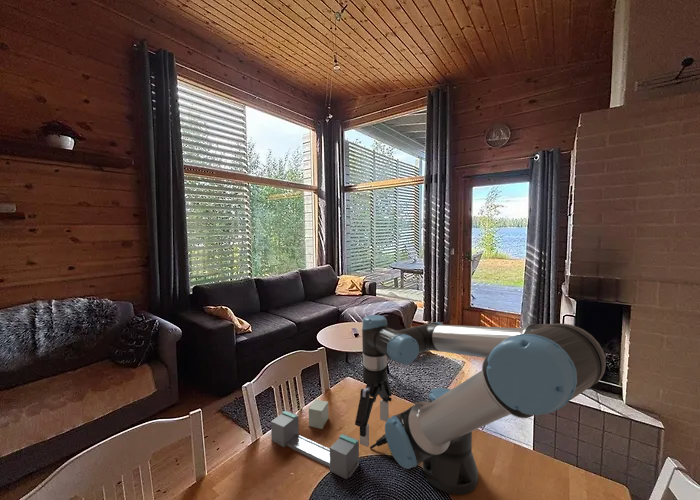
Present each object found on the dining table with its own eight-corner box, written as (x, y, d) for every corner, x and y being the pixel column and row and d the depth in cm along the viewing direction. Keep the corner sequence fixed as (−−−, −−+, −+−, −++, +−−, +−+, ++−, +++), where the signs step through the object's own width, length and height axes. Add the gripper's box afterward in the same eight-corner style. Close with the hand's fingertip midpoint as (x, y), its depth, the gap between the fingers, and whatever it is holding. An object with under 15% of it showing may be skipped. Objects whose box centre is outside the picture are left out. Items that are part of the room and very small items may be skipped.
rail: (358, 465, 89) (358, 461, 89) (349, 477, 85) (349, 473, 85) (283, 431, 105) (283, 427, 105) (272, 439, 101) (272, 435, 101)
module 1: (298, 435, 103) (298, 414, 102) (283, 448, 97) (283, 425, 96) (286, 429, 106) (286, 409, 105) (271, 441, 100) (271, 420, 99)
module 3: (358, 462, 90) (358, 438, 90) (346, 479, 84) (345, 453, 84) (343, 455, 93) (343, 432, 93) (330, 471, 87) (329, 446, 87)
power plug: (370, 439, 99) (399, 421, 97) (384, 459, 98) (414, 441, 96) (367, 452, 93) (398, 432, 91) (382, 472, 93) (414, 454, 90)
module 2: (328, 420, 111) (328, 401, 111) (322, 430, 105) (321, 411, 105) (315, 417, 112) (315, 399, 112) (309, 427, 107) (308, 408, 106)
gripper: (381, 349, 107) (381, 408, 108) (342, 379, 86) (343, 451, 87) (401, 354, 103) (401, 414, 104) (365, 386, 82) (366, 462, 83)
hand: (374, 431), depth 96 cm, fingers open, 13 cm apart
